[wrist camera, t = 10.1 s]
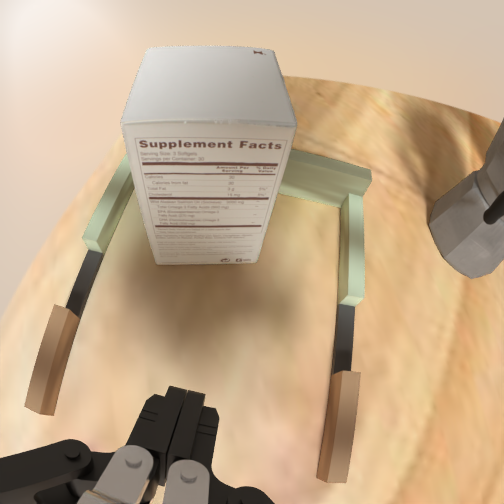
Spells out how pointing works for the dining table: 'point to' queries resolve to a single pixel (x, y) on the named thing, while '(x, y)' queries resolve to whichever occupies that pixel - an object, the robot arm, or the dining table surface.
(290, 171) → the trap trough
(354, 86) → the dining table surface
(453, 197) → the coffeepot
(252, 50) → the supplement box
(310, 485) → the dining table surface
